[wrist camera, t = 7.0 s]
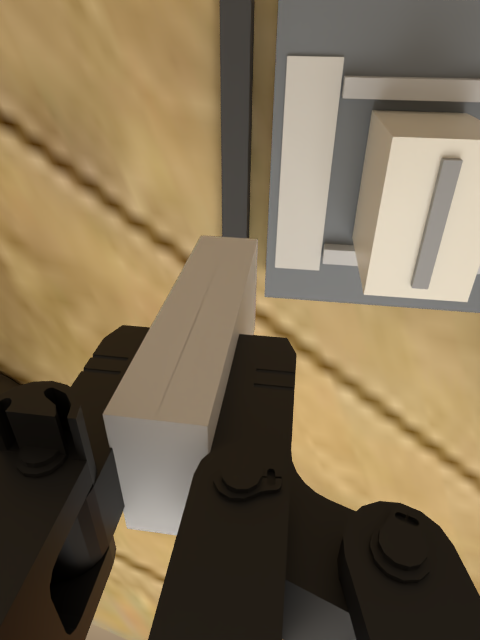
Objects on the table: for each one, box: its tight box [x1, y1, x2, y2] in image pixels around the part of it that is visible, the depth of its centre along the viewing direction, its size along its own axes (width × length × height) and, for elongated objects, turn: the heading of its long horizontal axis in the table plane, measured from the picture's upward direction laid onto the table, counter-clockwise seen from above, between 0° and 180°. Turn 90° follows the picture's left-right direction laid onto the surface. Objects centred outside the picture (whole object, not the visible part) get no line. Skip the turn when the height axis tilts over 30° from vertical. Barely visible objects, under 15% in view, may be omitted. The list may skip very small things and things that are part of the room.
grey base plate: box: [220, 0, 254, 239], centre depth 22 cm, size 23×18×1 cm
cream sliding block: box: [352, 110, 480, 302], centre depth 19 cm, size 4×6×6 cm, turn 179°
